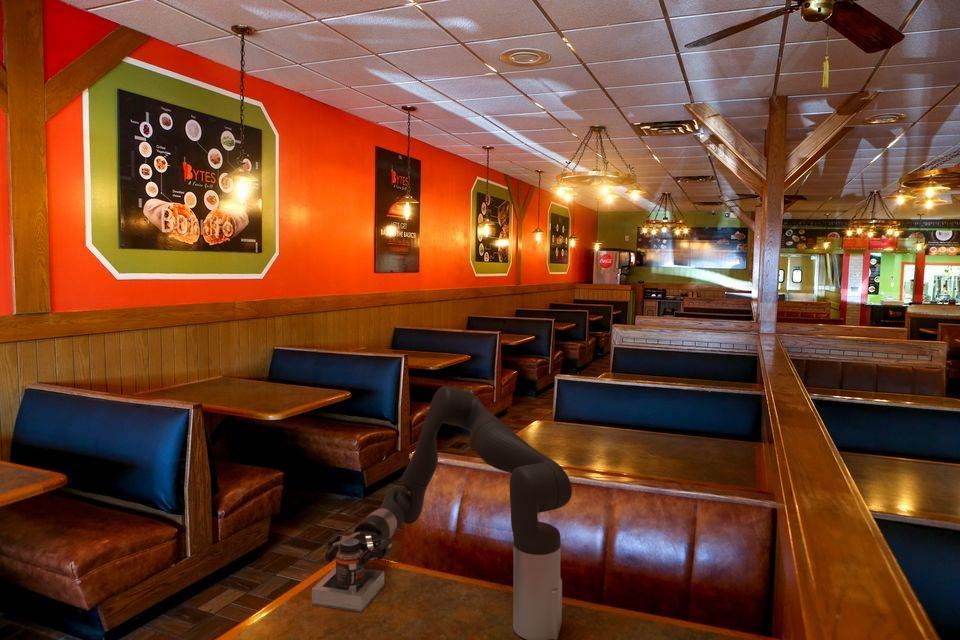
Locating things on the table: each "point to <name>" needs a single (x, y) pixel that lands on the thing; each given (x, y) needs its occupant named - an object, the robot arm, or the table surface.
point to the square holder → (345, 599)
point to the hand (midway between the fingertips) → (343, 560)
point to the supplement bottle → (349, 566)
